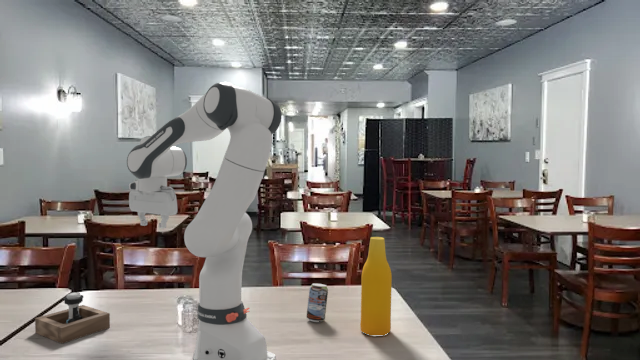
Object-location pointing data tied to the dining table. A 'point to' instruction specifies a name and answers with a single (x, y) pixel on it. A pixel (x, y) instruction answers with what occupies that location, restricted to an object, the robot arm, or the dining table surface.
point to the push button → (73, 306)
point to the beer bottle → (376, 290)
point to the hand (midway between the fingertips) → (153, 226)
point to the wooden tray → (72, 324)
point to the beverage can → (317, 302)
